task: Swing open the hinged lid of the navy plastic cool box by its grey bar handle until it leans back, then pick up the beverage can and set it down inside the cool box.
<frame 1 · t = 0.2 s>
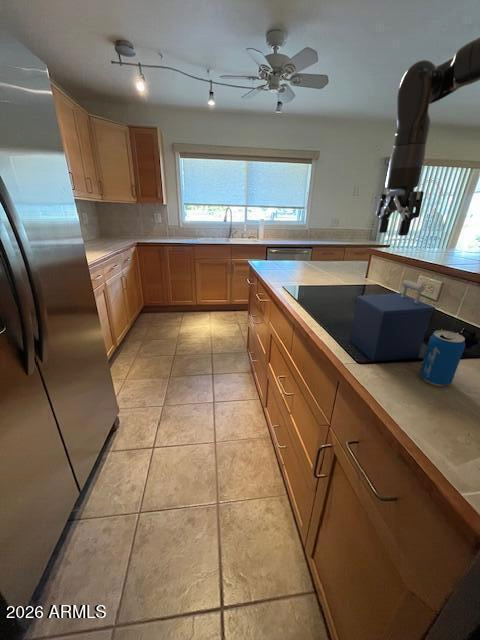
hand: (391, 233, 73), 32 cm above the counter, tool pointing down, fingers open, 8 cm apart
beverage can: (434, 380, 64), on the counter
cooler: (381, 348, 78), on the counter
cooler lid: (395, 294, 71), point 17 cm above the counter, hinge at 0.0°
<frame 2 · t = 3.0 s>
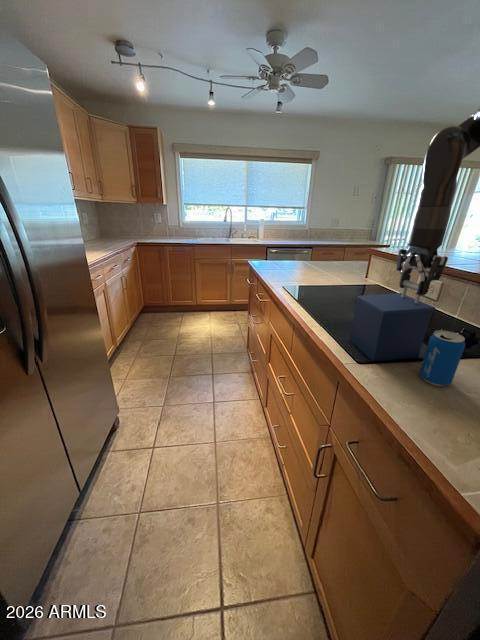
hand: (411, 290, 71), 18 cm above the counter, tool pointing down, fingers closed on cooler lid, 6 cm apart
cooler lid: (395, 294, 71), point 17 cm above the counter, hinge at 0.0°, touching gripper
everything else where it was.
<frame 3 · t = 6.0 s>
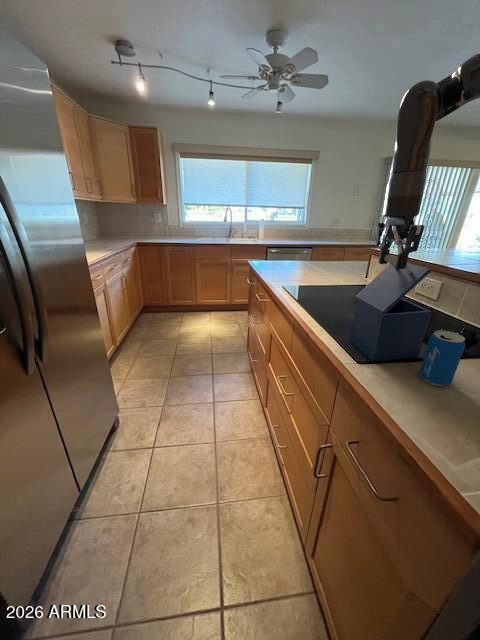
hand: (390, 265, 68), 25 cm above the counter, tool pointing down, fingers closed on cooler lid, 6 cm apart
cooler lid: (384, 279, 69), point 21 cm above the counter, hinge at 46.5°, touching gripper
everything else where it was.
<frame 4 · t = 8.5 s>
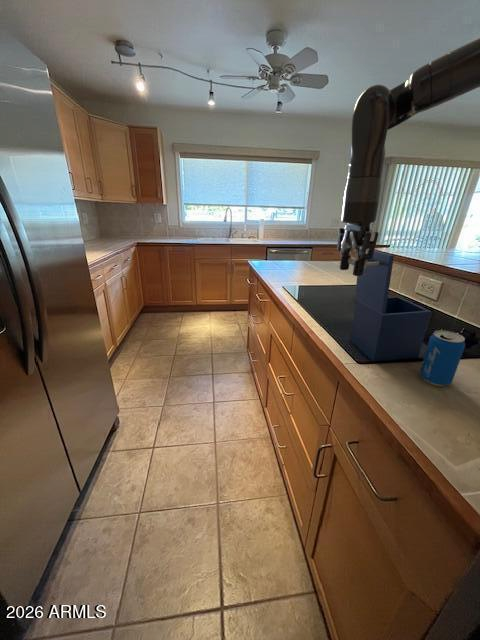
hand: (350, 272, 67), 24 cm above the counter, tool pointing down, fingers closed on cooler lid, 6 cm apart
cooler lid: (363, 280, 68), point 21 cm above the counter, hinge at 93.7°, touching gripper
everything else where it was.
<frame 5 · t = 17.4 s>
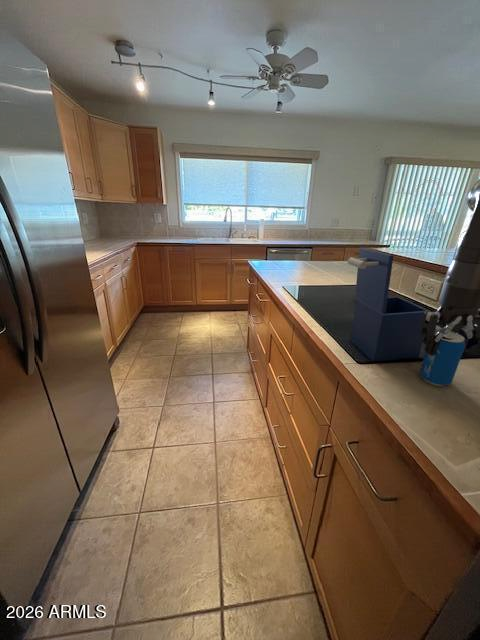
hand: (443, 352, 60), 8 cm above the counter, tool pointing down, fingers closed on beverage can, 6 cm apart
beverage can: (434, 380, 64), on the counter, touching gripper
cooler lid: (362, 280, 68), point 21 cm above the counter, hinge at 94.2°
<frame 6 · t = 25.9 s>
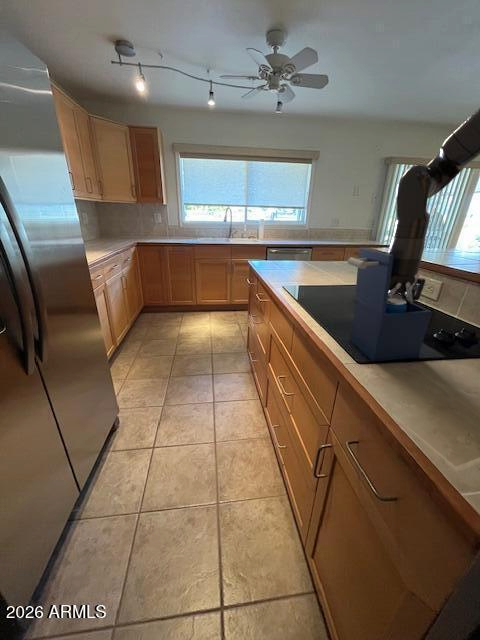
hand: (391, 315, 73), 11 cm above the counter, tool pointing down, fingers closed on beverage can, 6 cm apart
beverage can: (385, 339, 77), point 3 cm above the counter, touching gripper
everything else where it was.
when the fingers open (11 cm above the counter, at t = 30.0 s): beverage can drops 2 cm, resting on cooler.
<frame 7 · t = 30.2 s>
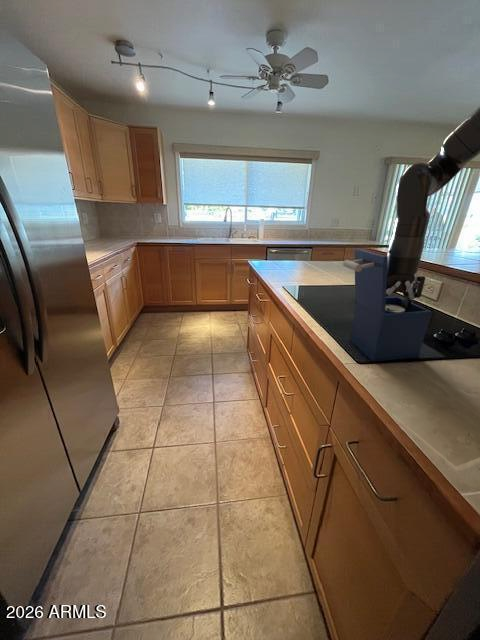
hand: (390, 312, 73), 11 cm above the counter, tool pointing down, fingers open, 7 cm apart
beverage can: (384, 346, 78), point 1 cm above the counter, touching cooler
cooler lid: (360, 281, 68), point 21 cm above the counter, hinge at 100.0°, touching gripper, hand
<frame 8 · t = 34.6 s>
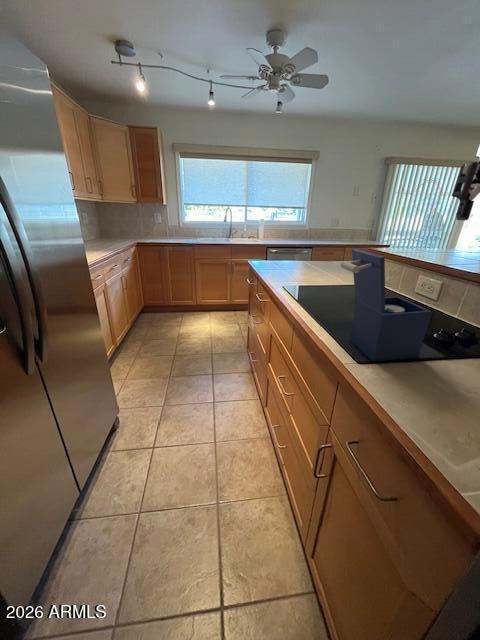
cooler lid: (358, 282, 68), point 21 cm above the counter, hinge at 102.9°
everything else where it was.
at the end: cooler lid at +103° (first picture: +0°); beverage can inside the target area in the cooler (0.6 cm from its centre), point 0.6 cm above the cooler's base; beverage can tilted 0° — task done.
